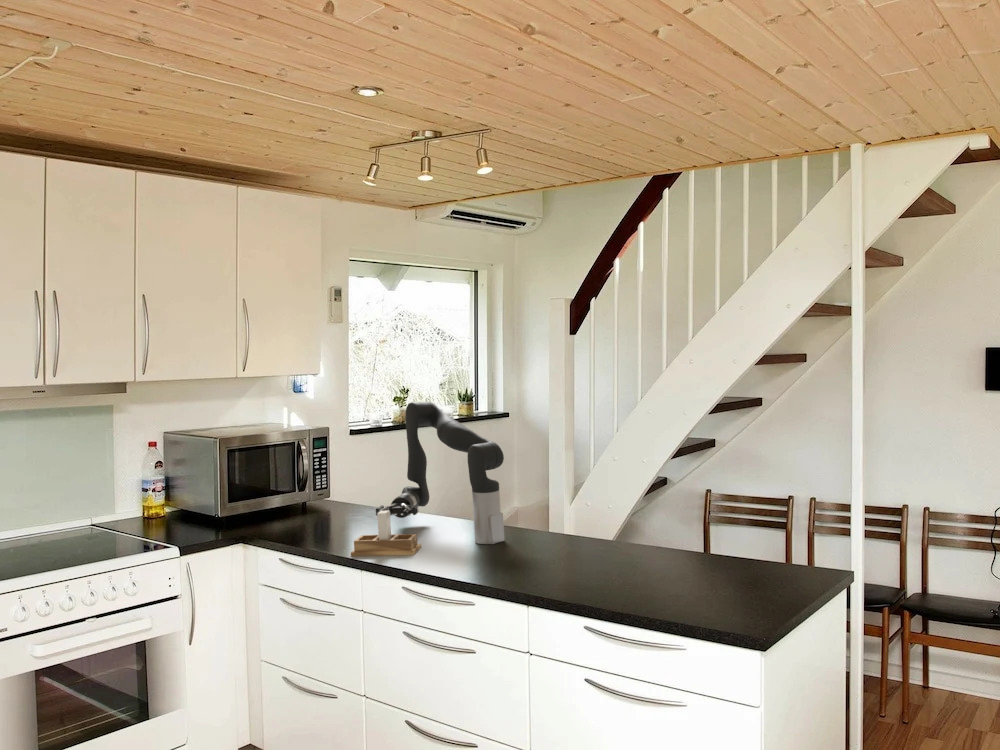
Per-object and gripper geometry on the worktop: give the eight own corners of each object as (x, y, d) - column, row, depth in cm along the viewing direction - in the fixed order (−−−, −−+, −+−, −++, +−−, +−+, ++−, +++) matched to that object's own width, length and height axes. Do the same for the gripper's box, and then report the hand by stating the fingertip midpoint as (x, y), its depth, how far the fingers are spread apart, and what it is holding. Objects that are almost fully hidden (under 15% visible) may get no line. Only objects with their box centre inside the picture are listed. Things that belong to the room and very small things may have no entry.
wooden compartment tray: (360, 548, 290) (359, 534, 290) (421, 547, 287) (420, 533, 287) (350, 556, 280) (350, 541, 280) (413, 554, 277) (412, 540, 277)
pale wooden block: (383, 546, 286) (380, 510, 285) (391, 546, 285) (389, 510, 285) (379, 549, 281) (377, 513, 281) (388, 549, 281) (386, 513, 280)
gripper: (384, 495, 309) (370, 504, 293) (422, 494, 307) (411, 503, 291) (385, 516, 309) (372, 526, 293) (424, 514, 307) (413, 525, 291)
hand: (391, 514), depth 292 cm, fingers open, 8 cm apart
